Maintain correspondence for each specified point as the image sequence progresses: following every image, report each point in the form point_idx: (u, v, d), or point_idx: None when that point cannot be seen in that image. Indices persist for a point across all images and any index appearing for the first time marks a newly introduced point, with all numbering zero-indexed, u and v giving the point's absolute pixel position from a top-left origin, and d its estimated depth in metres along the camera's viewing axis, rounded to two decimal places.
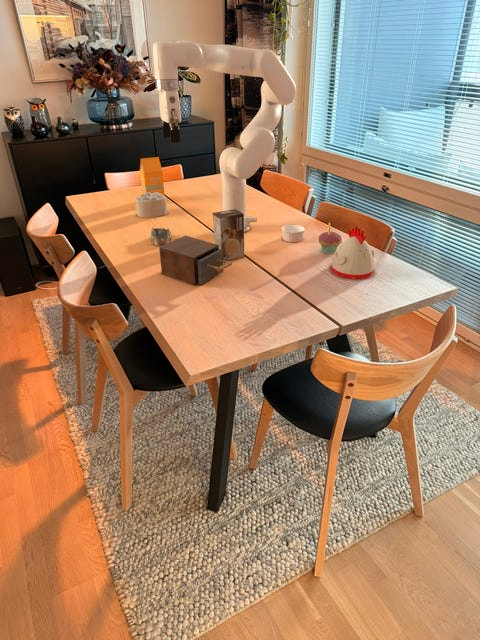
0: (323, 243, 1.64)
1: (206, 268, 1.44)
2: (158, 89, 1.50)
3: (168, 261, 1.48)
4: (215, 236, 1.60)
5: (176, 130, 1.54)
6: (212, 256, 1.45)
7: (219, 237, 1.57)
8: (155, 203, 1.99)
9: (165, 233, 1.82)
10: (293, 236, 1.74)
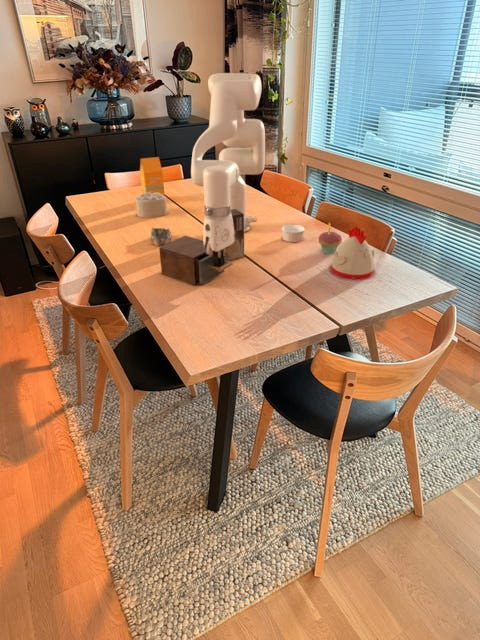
0: (323, 243, 1.64)
1: (207, 268, 1.44)
2: None
3: (168, 261, 1.48)
4: None
5: (216, 257, 1.41)
6: None
7: None
8: (155, 203, 1.99)
9: (165, 233, 1.82)
10: (293, 236, 1.74)
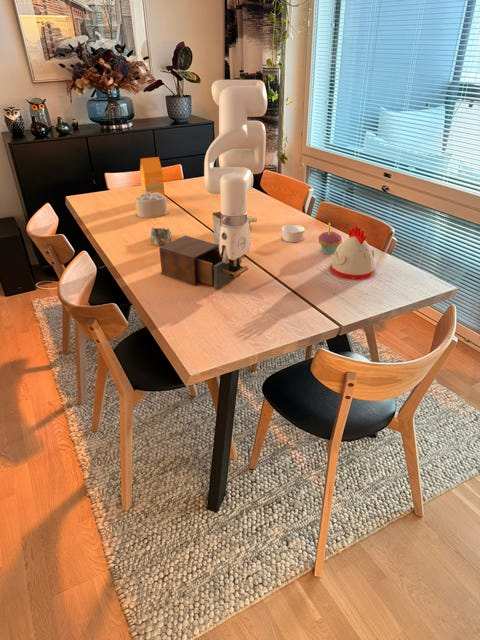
0: (323, 243, 1.64)
1: (222, 273, 1.41)
2: None
3: (168, 261, 1.48)
4: (215, 236, 1.60)
5: (232, 266, 1.39)
6: None
7: (219, 237, 1.57)
8: (155, 203, 1.99)
9: (165, 233, 1.82)
10: (293, 236, 1.74)
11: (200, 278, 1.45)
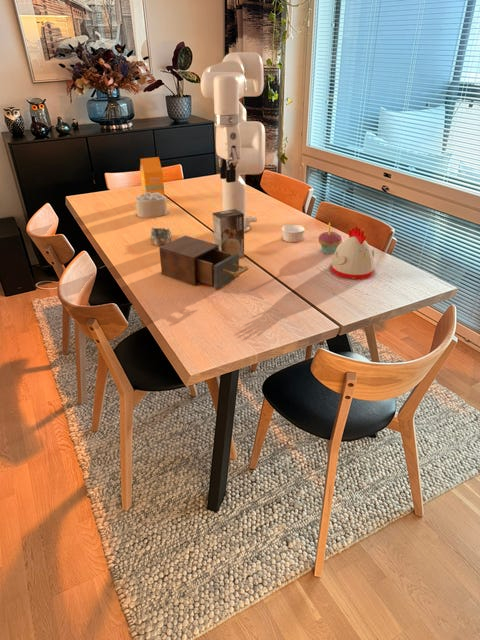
0: (323, 243, 1.64)
1: (222, 273, 1.41)
2: (218, 125, 1.39)
3: (168, 261, 1.48)
4: (215, 236, 1.60)
5: (233, 170, 1.46)
6: (228, 261, 1.41)
7: (219, 237, 1.57)
8: (155, 203, 1.99)
9: (165, 233, 1.82)
10: (293, 236, 1.74)
11: (200, 278, 1.45)
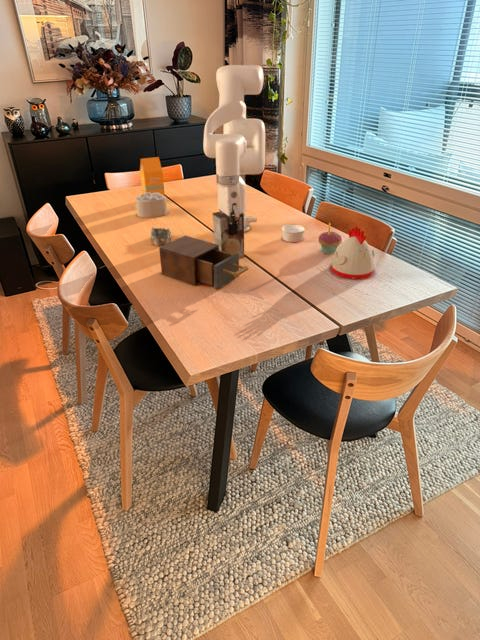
0: (323, 243, 1.64)
1: (222, 273, 1.41)
2: (219, 184, 1.49)
3: (168, 261, 1.48)
4: (215, 236, 1.60)
5: (235, 224, 1.54)
6: (228, 261, 1.41)
7: (219, 237, 1.57)
8: (155, 203, 1.99)
9: (165, 233, 1.82)
10: (293, 236, 1.74)
11: (200, 278, 1.45)
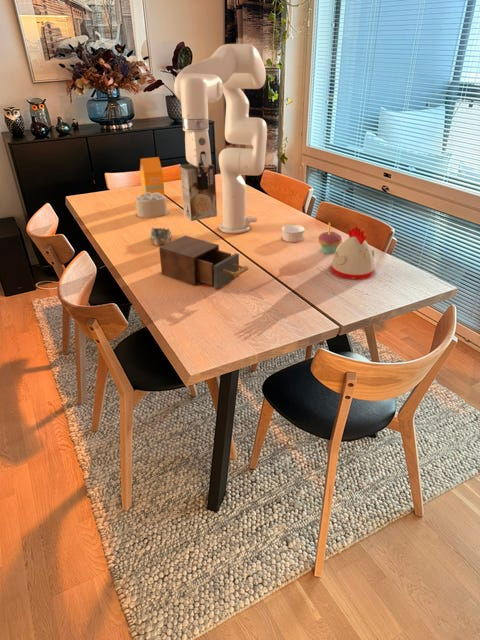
0: (323, 243, 1.64)
1: (222, 273, 1.41)
2: (186, 129, 1.31)
3: (168, 261, 1.48)
4: (183, 192, 1.43)
5: (204, 177, 1.37)
6: (228, 261, 1.41)
7: (187, 192, 1.40)
8: (155, 203, 1.99)
9: (165, 233, 1.82)
10: (293, 236, 1.74)
11: (200, 278, 1.45)
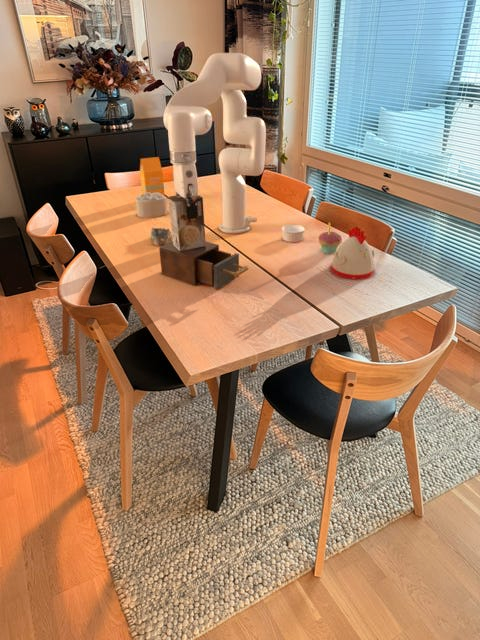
0: (323, 243, 1.64)
1: (222, 273, 1.41)
2: (173, 162, 1.32)
3: (168, 261, 1.48)
4: (172, 223, 1.44)
5: (193, 206, 1.36)
6: (228, 261, 1.41)
7: (176, 224, 1.41)
8: (155, 203, 1.99)
9: (165, 233, 1.82)
10: (293, 236, 1.74)
11: (200, 278, 1.45)
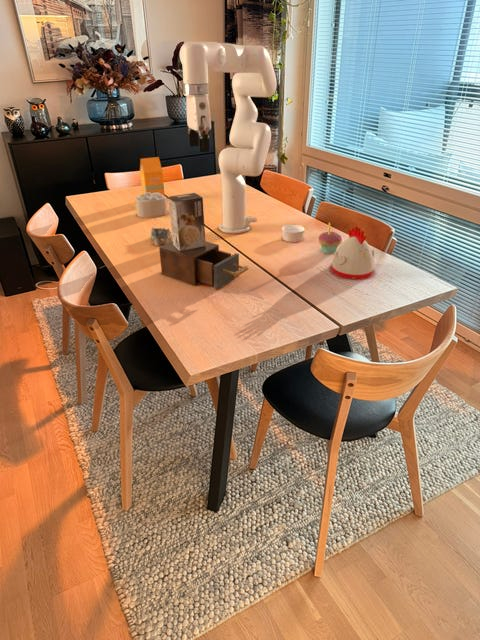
0: (323, 243, 1.64)
1: (222, 273, 1.41)
2: (187, 94, 1.38)
3: (168, 261, 1.48)
4: (172, 223, 1.44)
5: (206, 139, 1.42)
6: (228, 261, 1.41)
7: (176, 224, 1.41)
8: (155, 203, 1.99)
9: (165, 233, 1.82)
10: (293, 236, 1.74)
11: (200, 278, 1.45)
